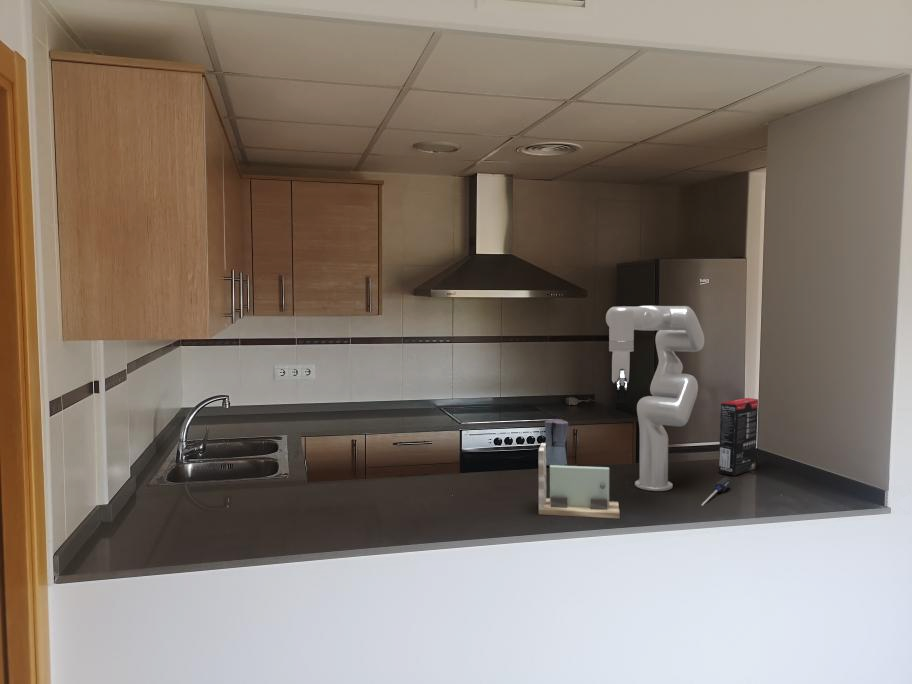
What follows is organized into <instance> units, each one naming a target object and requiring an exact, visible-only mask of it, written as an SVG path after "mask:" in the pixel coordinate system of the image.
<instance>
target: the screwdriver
mask: <svg viewBox="0 0 912 684" xmlns="http://www.w3.org/2000/svg"><path fill="white" fill-rule="evenodd" d="M731 484H732V482H731V479H730V478H728V477H723V478H721V479H720V480H719V481H717V482H716V484H715V486H714V491H713V492H712V493H711V494H710V495H709V496H708V497H707V498H706V499H705V501H703V502H702V503H701V505H700V506H701V507H703V506H705V505H706V504H707V503H708V501H710V500H711V499H712V498H713V497H714V496H715V495H716V494H717V493H718V492H719V493H725V492H726V490H728V488H729V487H730V486H731Z"/></svg>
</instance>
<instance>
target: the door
mask: <svg viewBox="0 0 912 684" xmlns="http://www.w3.org/2000/svg"><path fill="white" fill-rule="evenodd" d="M551 496H553V497H567V506H578V507H591V498H595V499H607V508H609V501H610V467H607V466H585V465H584V466H581V465H580V466H578V465H566V466H560V465H550V466H549V498H550V505H551Z"/></svg>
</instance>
